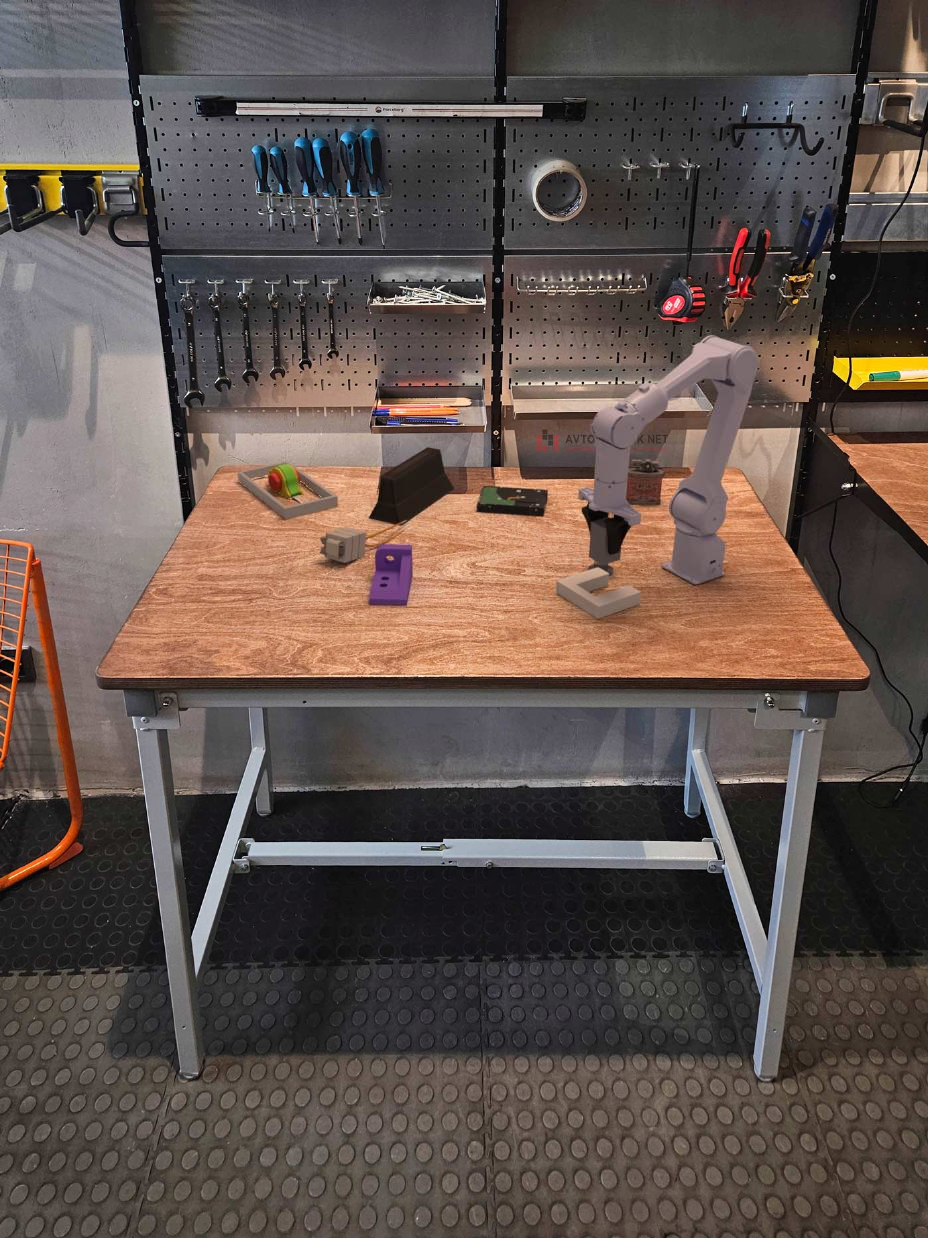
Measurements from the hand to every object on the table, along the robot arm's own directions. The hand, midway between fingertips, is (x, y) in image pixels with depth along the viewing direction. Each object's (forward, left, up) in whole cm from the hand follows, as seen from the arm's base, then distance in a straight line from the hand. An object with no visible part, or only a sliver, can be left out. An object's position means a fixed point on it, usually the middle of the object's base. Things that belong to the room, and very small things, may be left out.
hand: (605, 548), depth 183 cm
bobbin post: (+8, -7, -10) cm, 14 cm away
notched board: (0, +1, -10) cm, 10 cm away
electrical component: (+44, +25, -10) cm, 51 cm away
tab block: (0, 0, -2) cm, 2 cm away
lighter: (+29, -37, -10) cm, 48 cm away
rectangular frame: (+77, +27, -10) cm, 82 cm away
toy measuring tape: (+75, +27, -10) cm, 80 cm away
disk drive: (+44, -12, -11) cm, 46 cm away
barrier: (+57, +6, -10) cm, 58 cm away
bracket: (+24, +31, -10) cm, 41 cm away
